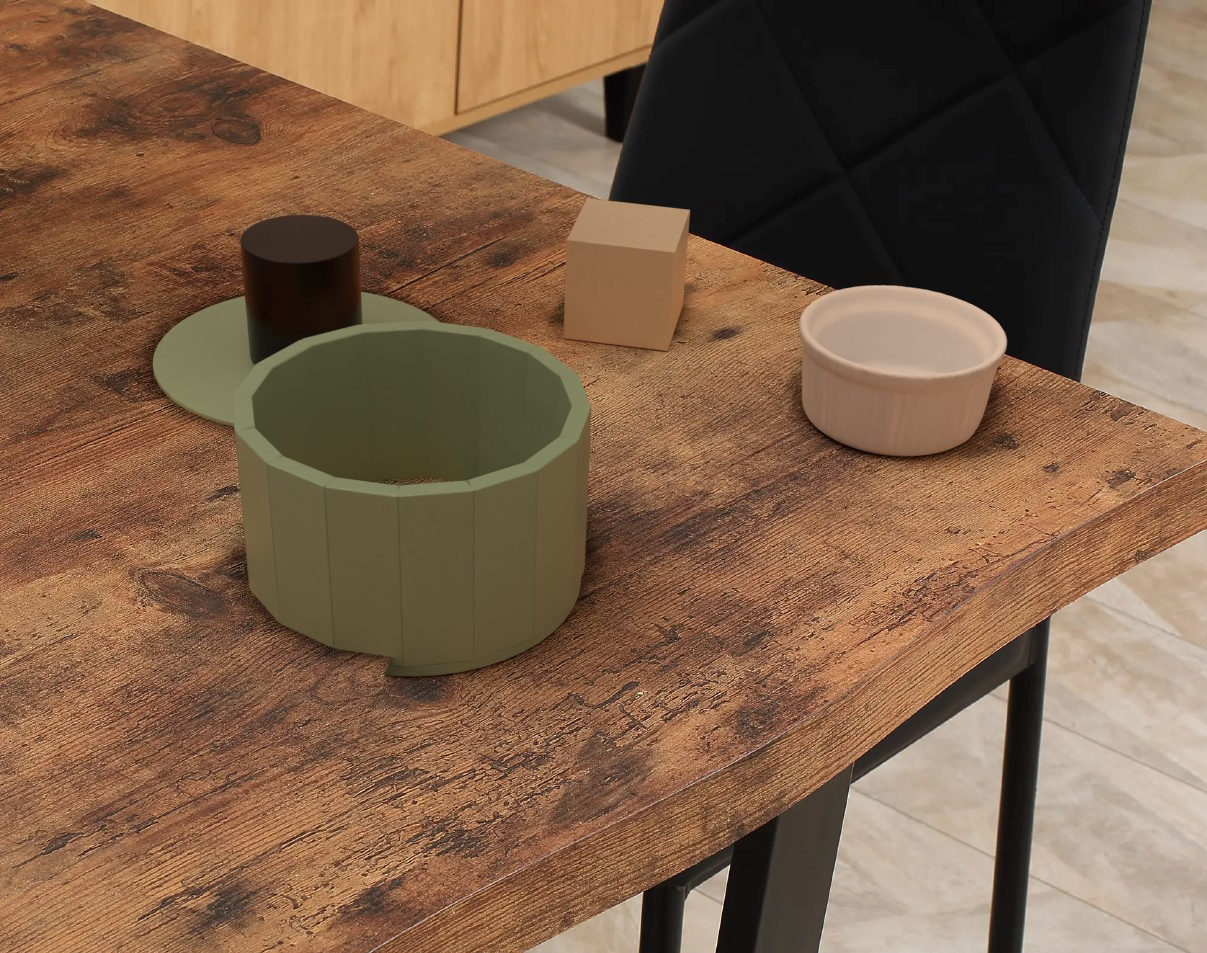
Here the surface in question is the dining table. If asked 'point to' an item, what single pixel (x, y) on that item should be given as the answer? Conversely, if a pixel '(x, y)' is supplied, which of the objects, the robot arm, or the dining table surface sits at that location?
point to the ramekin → (897, 368)
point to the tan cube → (625, 274)
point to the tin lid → (271, 311)
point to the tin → (415, 492)
